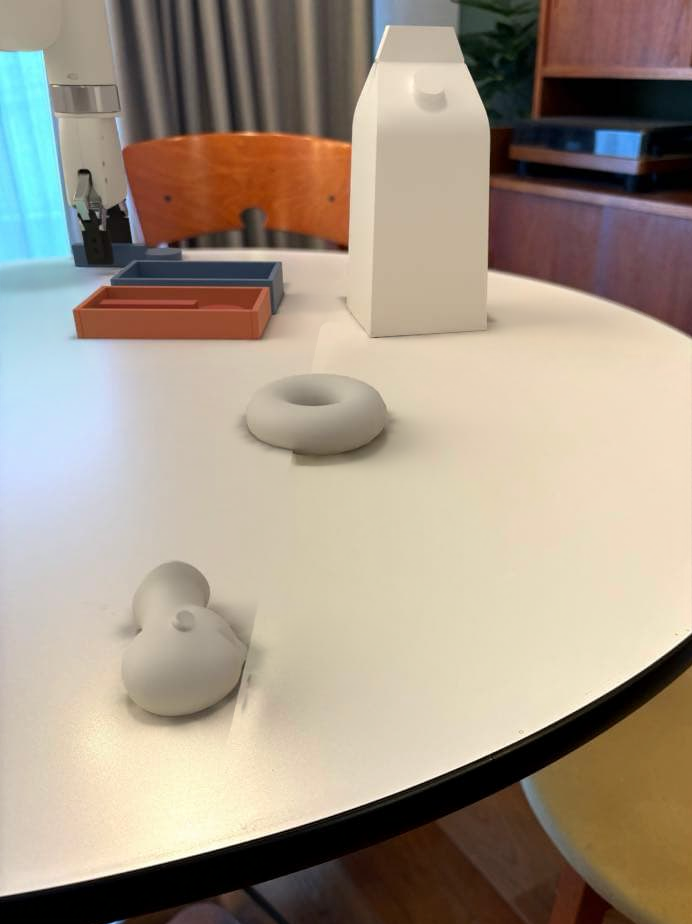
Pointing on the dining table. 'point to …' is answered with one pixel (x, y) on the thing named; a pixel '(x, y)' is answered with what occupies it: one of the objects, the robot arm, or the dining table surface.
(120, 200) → the robot arm
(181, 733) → the dining table surface
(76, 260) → the blue spoon
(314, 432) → the donut
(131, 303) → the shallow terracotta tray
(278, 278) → the tray blue
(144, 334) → the tray red
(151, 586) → the pale two-lobed sculpture
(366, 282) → the milk
